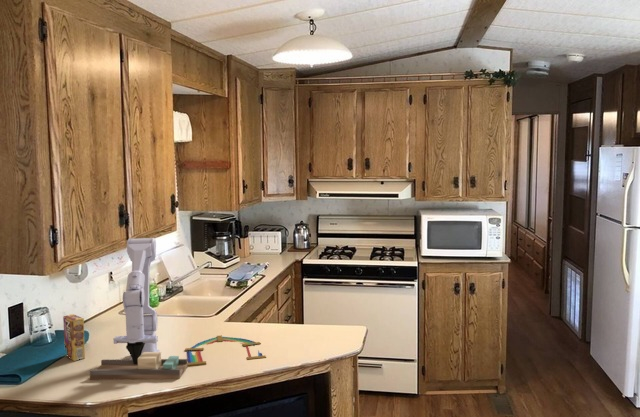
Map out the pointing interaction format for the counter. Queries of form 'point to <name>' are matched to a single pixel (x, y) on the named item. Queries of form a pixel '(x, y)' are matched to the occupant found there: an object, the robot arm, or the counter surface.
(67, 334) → the candy box
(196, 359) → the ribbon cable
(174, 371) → the guide track
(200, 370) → the counter surface
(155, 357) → the beige box
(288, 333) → the counter surface
